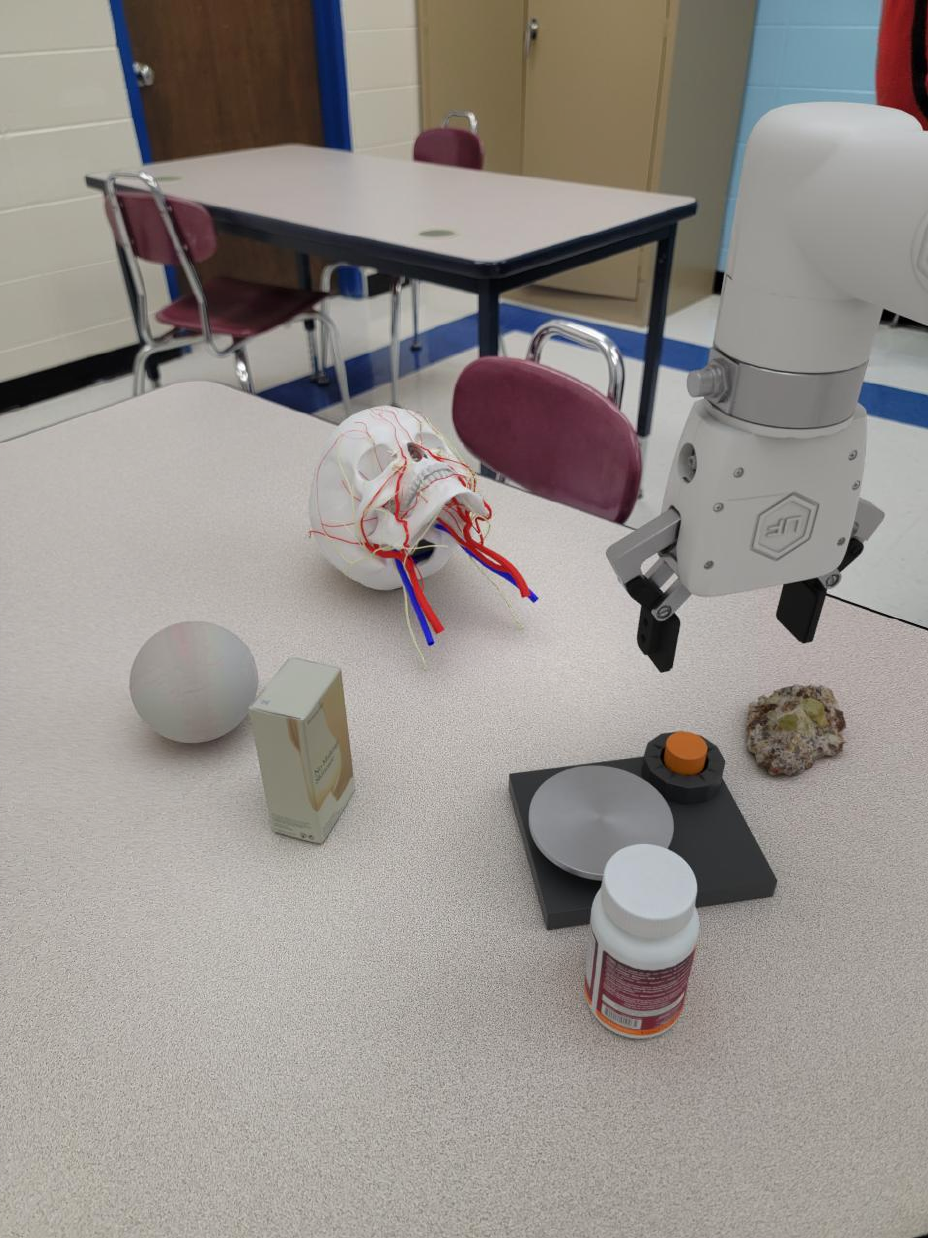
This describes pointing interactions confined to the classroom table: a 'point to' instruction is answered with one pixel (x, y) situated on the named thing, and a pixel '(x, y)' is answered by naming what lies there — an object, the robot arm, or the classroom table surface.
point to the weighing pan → (596, 817)
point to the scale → (701, 837)
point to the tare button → (685, 753)
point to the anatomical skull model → (399, 508)
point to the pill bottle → (641, 941)
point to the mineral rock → (795, 728)
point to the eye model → (193, 681)
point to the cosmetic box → (303, 748)
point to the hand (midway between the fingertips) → (725, 644)
